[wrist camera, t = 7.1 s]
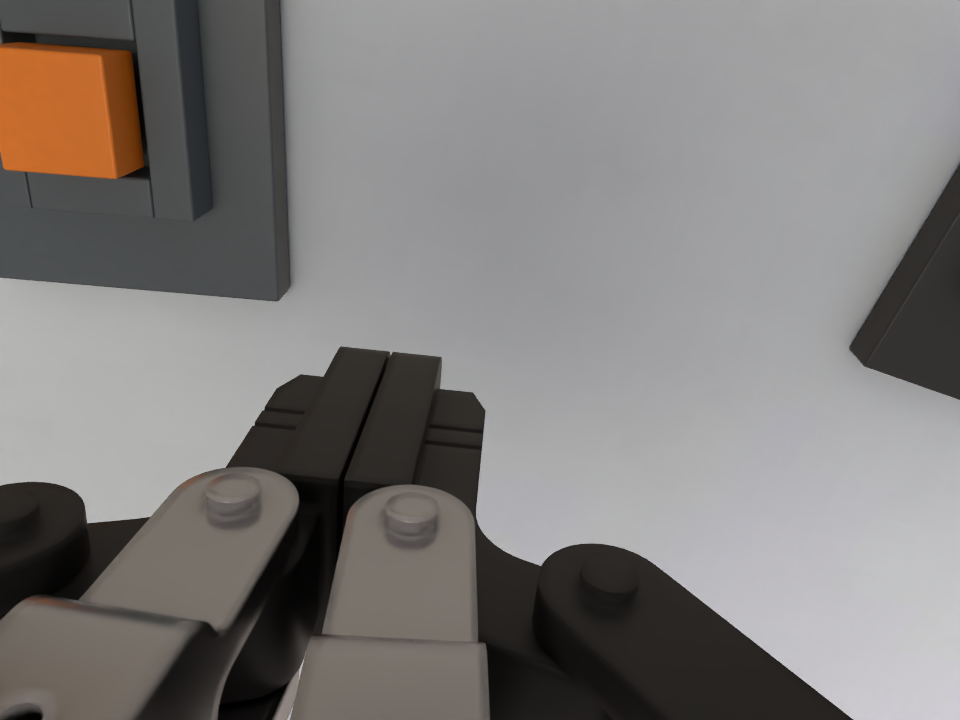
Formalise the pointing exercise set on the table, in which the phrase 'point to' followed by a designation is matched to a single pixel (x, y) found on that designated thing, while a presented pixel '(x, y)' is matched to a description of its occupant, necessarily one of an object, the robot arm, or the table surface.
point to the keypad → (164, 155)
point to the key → (68, 110)
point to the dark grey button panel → (921, 307)
